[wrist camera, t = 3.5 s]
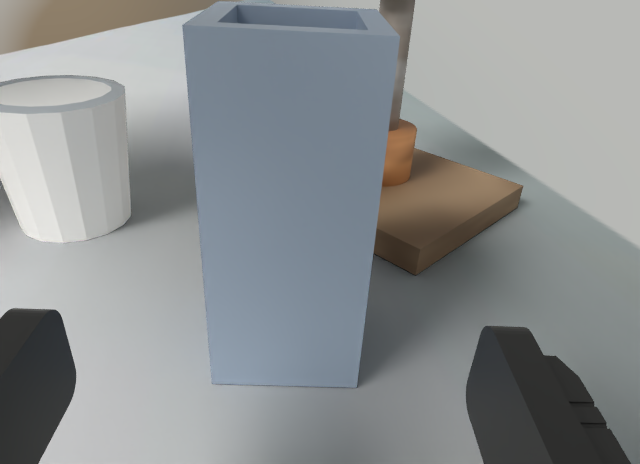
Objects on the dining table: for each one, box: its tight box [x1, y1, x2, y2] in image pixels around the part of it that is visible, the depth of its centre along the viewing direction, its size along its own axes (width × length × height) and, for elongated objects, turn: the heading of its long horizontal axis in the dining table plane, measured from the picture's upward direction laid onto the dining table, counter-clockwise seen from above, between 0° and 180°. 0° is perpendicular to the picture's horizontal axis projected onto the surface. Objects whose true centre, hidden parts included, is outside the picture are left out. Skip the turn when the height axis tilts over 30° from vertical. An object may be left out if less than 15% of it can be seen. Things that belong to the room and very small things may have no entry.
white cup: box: [0, 75, 131, 243], centre depth 26 cm, size 7×7×7 cm
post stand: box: [373, 0, 523, 275], centre depth 28 cm, size 14×11×16 cm
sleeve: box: [182, 1, 400, 388], centre depth 17 cm, size 5×5×12 cm
